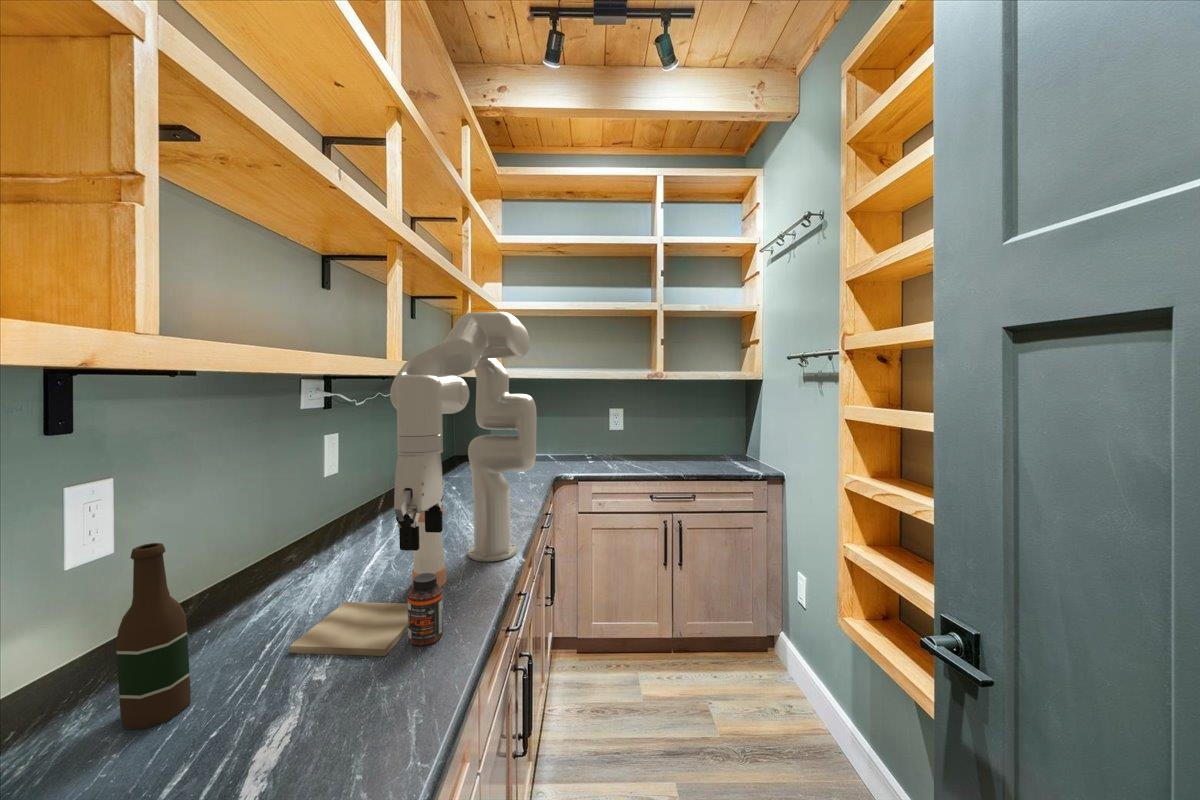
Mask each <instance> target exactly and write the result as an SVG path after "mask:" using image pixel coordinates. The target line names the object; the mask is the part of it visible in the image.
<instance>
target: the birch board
mask: <svg viewBox="0 0 1200 800" xmlns="http://www.w3.org/2000/svg"><path fill="white" fill-rule="evenodd" d="M407 633H408V603H403V602H402V603H400V602H399V603H397V602H393V603H392V602H364V601H363V602H362V601H361V602H359V601H358V602H357V601H345V602H344V603H342V604H341V605H340V606H339V607H337V608H336V609H334V610H333V611H332V612H331V613H329V614H328V615H327V616H326V617H324V618H323V619H322V620H320V622H318V623H316V624H315V625H314V626H313V627H312V628H310V629H309V630H308V631H307V632H305V633H304V634H303V635H302V636H301V637H299V638H297V639H296V640H295V641H294V642H293V643H291V644H290V645H289V653H291V654H311V655H313V654H314V655H315V654H317V655H345V656H348V655H349V656H368V657H369V656H374V657H375V656H376V657H386V656H387V654H389V653H390V651H391V650H393V648H394V647H395V646H396V645H397V644H398V642H399V641H400V640H401V639H402V638H403V637H404V636H405V635H406V634H407Z"/></svg>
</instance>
